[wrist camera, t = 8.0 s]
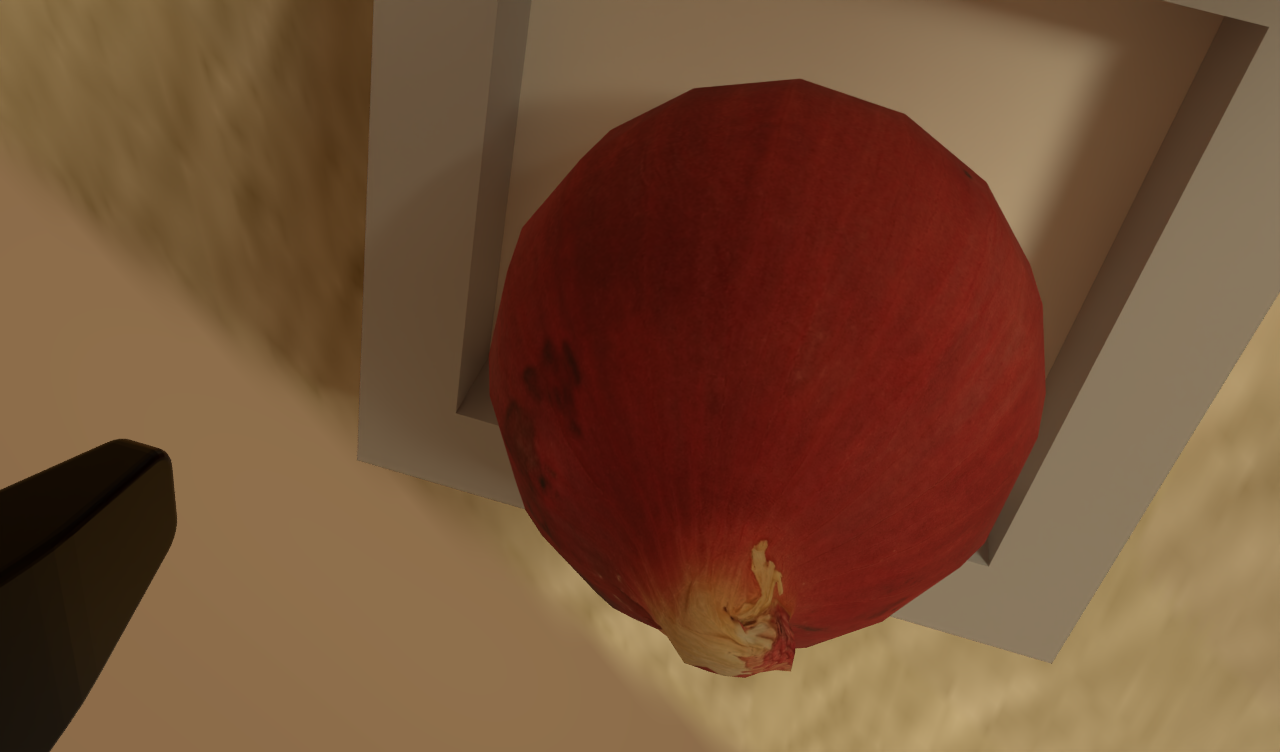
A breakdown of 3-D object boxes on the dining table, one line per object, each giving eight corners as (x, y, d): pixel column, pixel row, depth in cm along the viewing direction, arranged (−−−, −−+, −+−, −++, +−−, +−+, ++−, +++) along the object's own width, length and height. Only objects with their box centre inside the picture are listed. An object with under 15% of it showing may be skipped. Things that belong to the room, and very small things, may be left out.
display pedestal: (1414, -227, 15) (1605, -133, 10) (1049, 466, 22) (1071, 693, 18) (514, -434, 16) (339, -427, 11) (448, 297, 23) (326, 474, 18)
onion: (724, 424, 18) (603, 909, 12) (505, 120, 16) (211, 523, 10) (1096, 282, 15) (1194, 817, 9) (897, -113, 13) (842, 242, 7)
